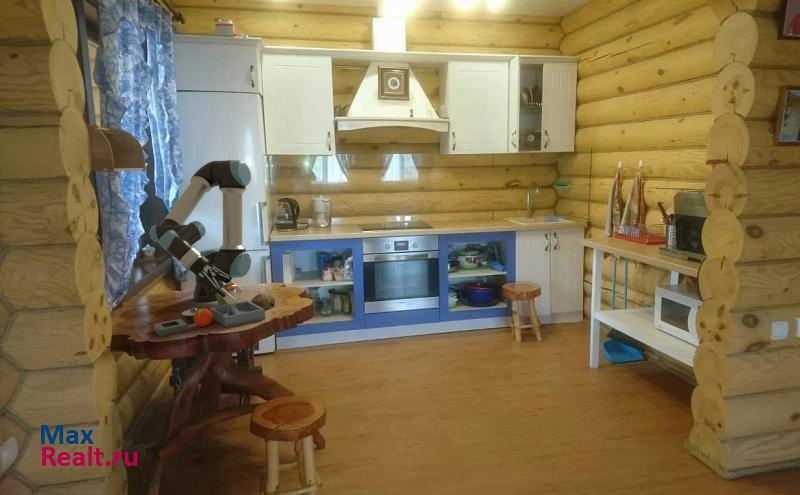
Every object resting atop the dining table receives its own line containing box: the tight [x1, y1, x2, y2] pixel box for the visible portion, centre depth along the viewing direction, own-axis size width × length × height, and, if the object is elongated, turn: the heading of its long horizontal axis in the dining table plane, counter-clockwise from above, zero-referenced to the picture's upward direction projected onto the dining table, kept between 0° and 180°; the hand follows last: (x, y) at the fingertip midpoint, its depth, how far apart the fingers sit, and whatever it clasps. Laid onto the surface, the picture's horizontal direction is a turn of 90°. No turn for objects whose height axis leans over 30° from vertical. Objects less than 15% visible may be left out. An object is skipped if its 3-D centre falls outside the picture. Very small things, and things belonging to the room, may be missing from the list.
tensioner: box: [153, 307, 201, 338], centre depth 191 cm, size 18×20×4 cm
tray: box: [209, 300, 266, 328], centre depth 198 cm, size 18×16×4 cm
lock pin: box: [223, 283, 238, 316], centre depth 196 cm, size 5×5×13 cm
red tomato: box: [193, 307, 214, 327], centre depth 188 cm, size 8×7×7 cm
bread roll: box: [250, 292, 276, 310], centre depth 213 cm, size 10×10×8 cm
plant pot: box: [215, 293, 227, 306], centre depth 211 cm, size 9×9×9 cm
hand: (237, 296), depth 196 cm, fingers open, 13 cm apart
